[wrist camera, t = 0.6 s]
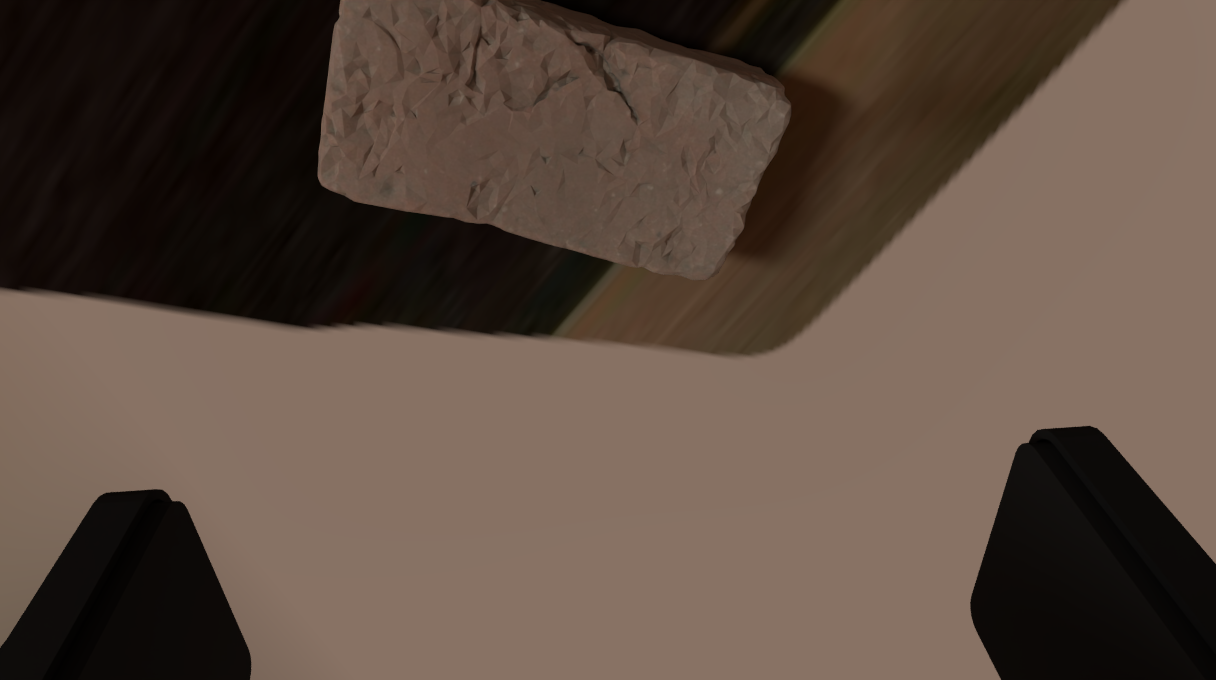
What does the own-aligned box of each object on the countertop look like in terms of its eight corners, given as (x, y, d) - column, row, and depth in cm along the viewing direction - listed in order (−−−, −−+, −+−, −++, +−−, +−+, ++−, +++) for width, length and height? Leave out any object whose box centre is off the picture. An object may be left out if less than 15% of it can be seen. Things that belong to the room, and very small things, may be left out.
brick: (782, 66, 33) (813, 101, 29) (708, 247, 38) (725, 299, 34) (364, -67, 30) (335, -47, 26) (333, 149, 34) (305, 194, 30)
